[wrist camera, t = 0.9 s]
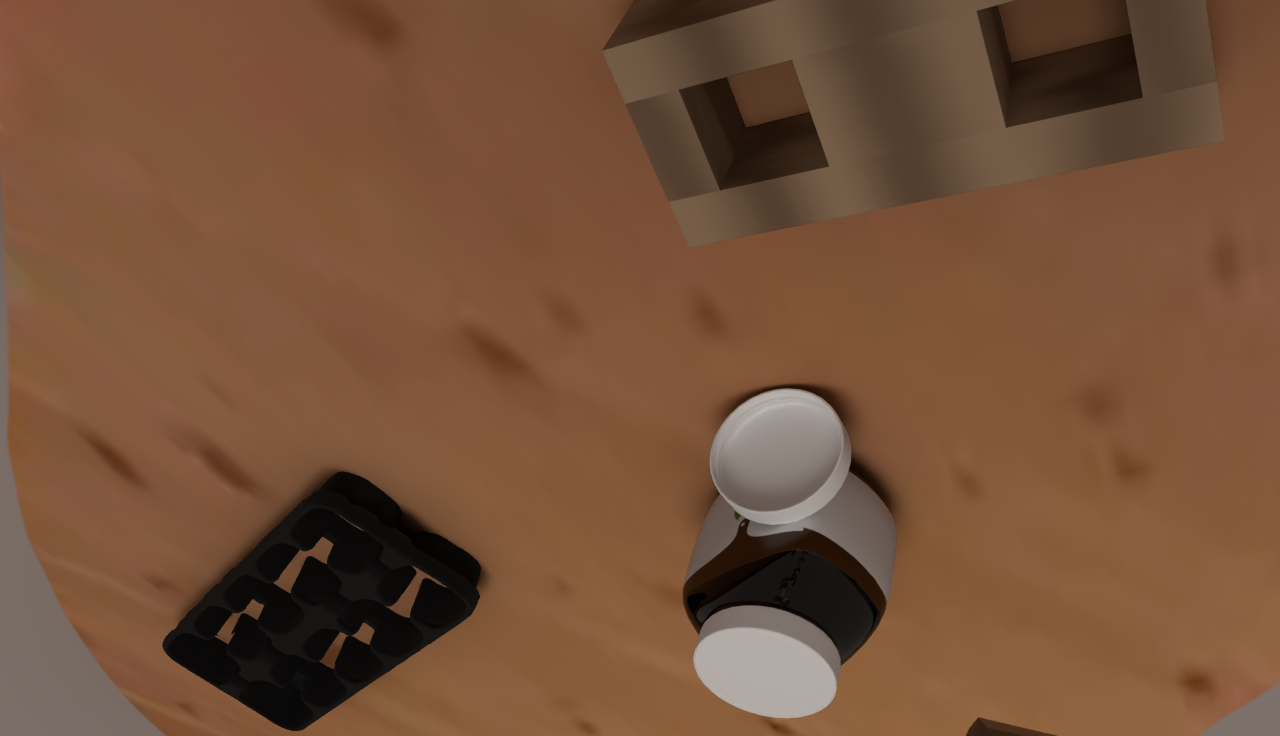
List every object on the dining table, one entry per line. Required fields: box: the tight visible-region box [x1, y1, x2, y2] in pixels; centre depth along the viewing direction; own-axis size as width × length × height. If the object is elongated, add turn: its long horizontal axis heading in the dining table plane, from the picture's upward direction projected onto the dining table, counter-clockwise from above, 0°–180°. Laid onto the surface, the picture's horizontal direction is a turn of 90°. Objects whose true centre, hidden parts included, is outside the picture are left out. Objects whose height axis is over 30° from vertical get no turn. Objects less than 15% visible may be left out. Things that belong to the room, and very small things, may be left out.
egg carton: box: [162, 472, 481, 731], centre depth 82 cm, size 18×30×4 cm, turn 153°
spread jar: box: [683, 388, 897, 718], centre depth 58 cm, size 12×11×12 cm
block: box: [602, 0, 1225, 247], centre depth 44 cm, size 20×9×5 cm, turn 113°
